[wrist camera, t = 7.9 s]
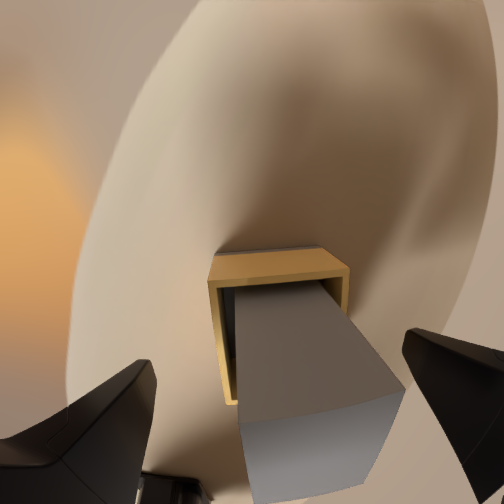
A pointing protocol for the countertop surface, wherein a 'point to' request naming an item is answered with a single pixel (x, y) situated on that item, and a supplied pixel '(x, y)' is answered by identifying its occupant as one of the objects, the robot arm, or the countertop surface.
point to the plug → (307, 392)
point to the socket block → (264, 272)
